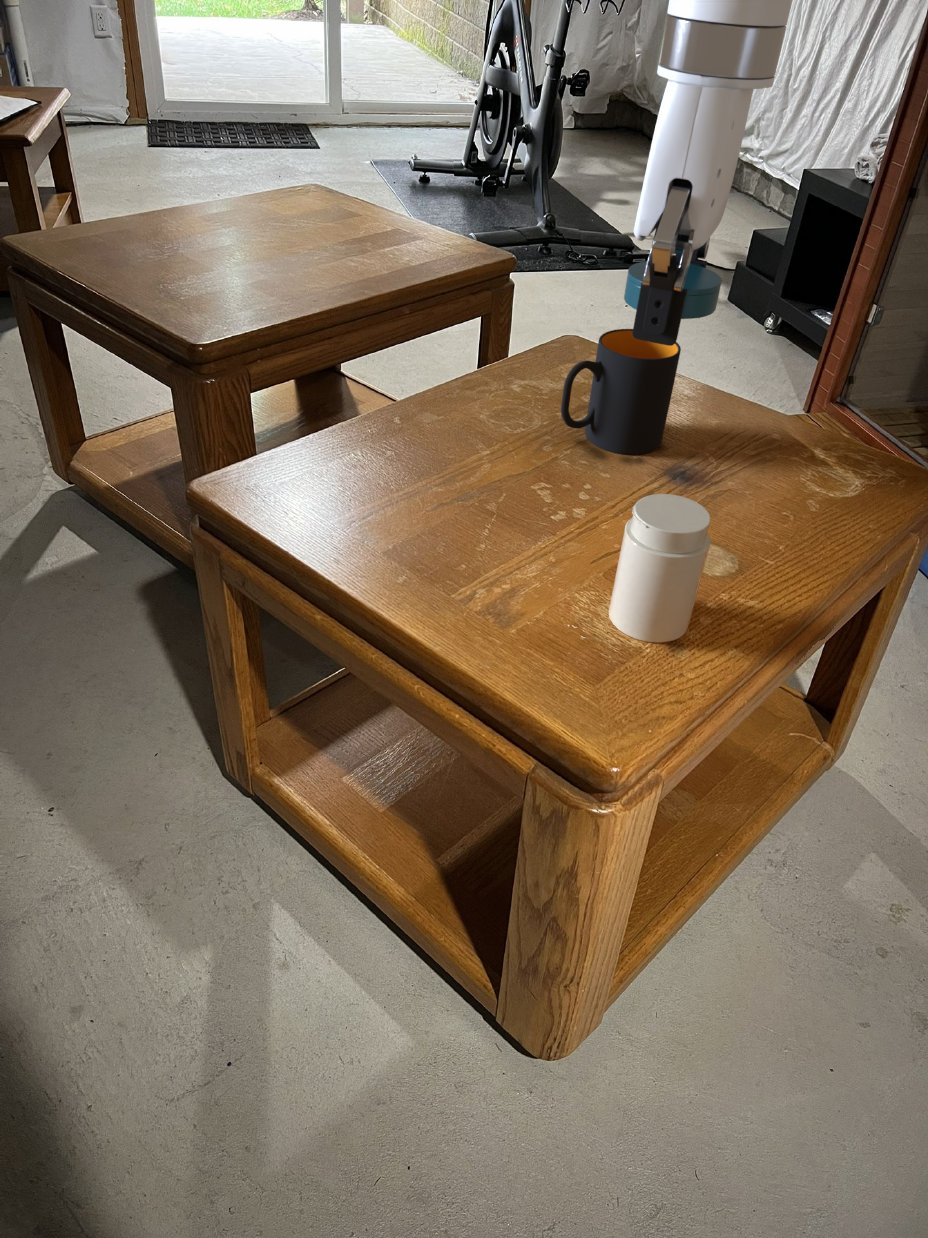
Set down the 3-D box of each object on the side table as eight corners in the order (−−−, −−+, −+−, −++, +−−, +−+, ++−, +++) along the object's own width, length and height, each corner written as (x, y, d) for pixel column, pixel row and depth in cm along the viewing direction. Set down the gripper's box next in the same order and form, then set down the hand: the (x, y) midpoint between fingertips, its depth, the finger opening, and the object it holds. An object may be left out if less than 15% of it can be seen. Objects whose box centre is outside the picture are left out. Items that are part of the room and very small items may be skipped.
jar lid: (609, 306, 69) (614, 277, 67) (639, 281, 74) (644, 254, 72) (701, 325, 66) (707, 296, 65) (725, 299, 71) (732, 271, 70)
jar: (651, 586, 78) (675, 483, 72) (705, 628, 74) (734, 522, 68) (592, 607, 75) (611, 502, 69) (644, 652, 71) (669, 544, 65)
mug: (541, 426, 101) (552, 333, 95) (639, 416, 105) (656, 325, 98) (572, 462, 95) (587, 365, 89) (675, 450, 99) (696, 356, 92)
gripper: (688, 35, 68) (643, 283, 79) (630, 59, 55) (585, 352, 66) (793, 48, 66) (732, 300, 77) (758, 76, 53) (691, 375, 64)
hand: (665, 322), depth 71 cm, fingers closed on jar lid, 6 cm apart
